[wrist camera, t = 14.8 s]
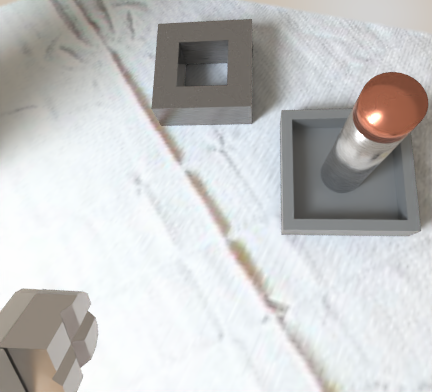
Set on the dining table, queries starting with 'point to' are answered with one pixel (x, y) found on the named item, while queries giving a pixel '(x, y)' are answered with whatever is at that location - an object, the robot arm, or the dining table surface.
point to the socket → (203, 54)
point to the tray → (342, 202)
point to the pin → (374, 129)
